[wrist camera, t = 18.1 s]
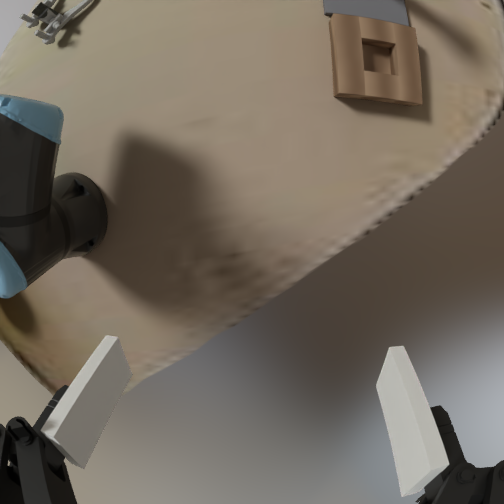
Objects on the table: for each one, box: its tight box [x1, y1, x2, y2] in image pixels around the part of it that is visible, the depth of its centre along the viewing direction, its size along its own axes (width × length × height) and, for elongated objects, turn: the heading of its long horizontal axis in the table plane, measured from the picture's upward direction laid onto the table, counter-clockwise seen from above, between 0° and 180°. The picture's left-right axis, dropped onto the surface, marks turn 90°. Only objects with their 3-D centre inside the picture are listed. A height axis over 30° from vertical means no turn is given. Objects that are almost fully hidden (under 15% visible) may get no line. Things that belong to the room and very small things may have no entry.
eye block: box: [329, 13, 422, 106], centre depth 30 cm, size 12×12×4 cm
